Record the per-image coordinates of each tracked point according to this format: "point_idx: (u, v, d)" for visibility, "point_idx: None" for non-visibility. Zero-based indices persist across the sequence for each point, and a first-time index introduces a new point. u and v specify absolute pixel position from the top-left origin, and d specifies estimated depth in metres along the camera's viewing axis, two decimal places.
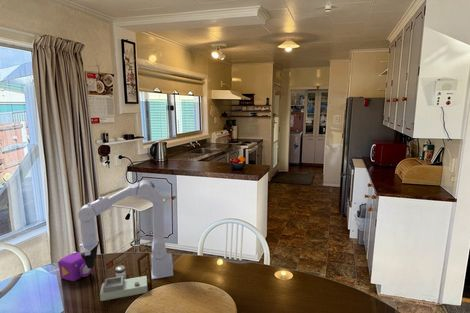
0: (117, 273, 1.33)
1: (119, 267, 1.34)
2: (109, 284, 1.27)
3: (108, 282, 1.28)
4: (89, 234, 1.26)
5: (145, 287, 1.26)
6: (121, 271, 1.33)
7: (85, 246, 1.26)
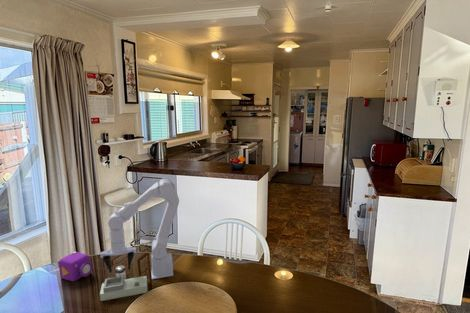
0: (117, 273, 1.33)
1: (119, 267, 1.34)
2: (109, 284, 1.27)
3: (108, 282, 1.28)
4: (118, 242, 1.30)
5: (145, 287, 1.26)
6: (121, 271, 1.33)
7: None
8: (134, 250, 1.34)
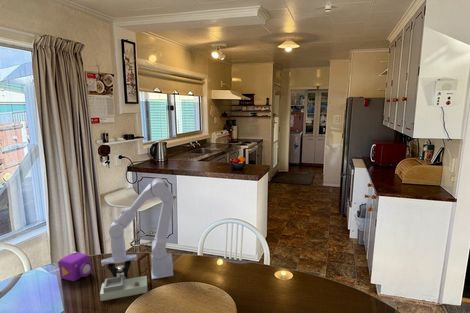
0: (117, 273, 1.33)
1: (119, 267, 1.34)
2: (109, 284, 1.27)
3: (108, 282, 1.28)
4: (119, 250, 1.30)
5: (145, 287, 1.26)
6: (121, 271, 1.33)
7: None
8: (135, 258, 1.35)
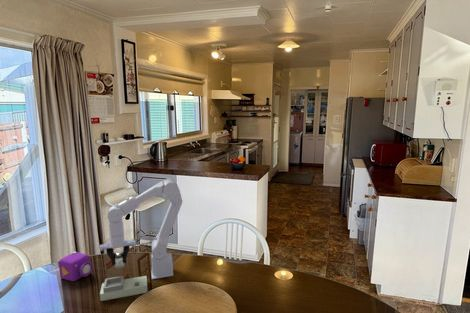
0: (115, 258, 1.31)
1: (117, 253, 1.33)
2: (109, 284, 1.27)
3: (108, 282, 1.28)
4: (118, 234, 1.29)
5: (145, 287, 1.26)
6: (120, 256, 1.32)
7: None
8: (133, 243, 1.33)
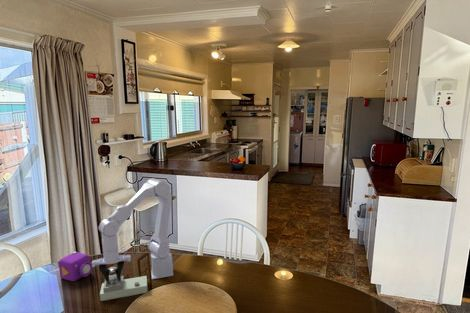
0: (109, 275, 1.23)
1: (111, 269, 1.25)
2: None
3: None
4: (114, 248, 1.21)
5: (145, 287, 1.26)
6: (113, 273, 1.23)
7: None
8: (128, 258, 1.25)
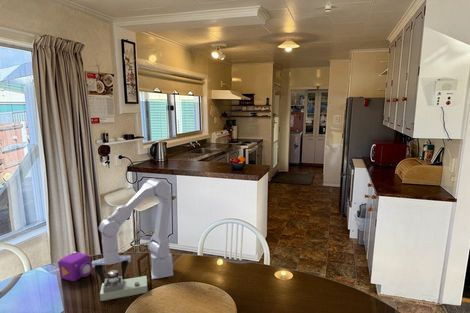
0: (109, 278, 1.23)
1: (112, 272, 1.25)
2: None
3: (108, 282, 1.28)
4: (114, 249, 1.21)
5: (145, 287, 1.26)
6: (114, 276, 1.23)
7: None
8: (128, 258, 1.25)
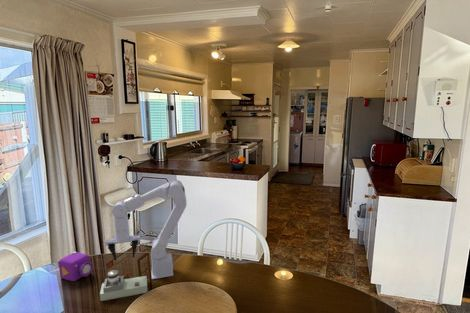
0: (109, 278, 1.23)
1: (111, 272, 1.25)
2: None
3: None
4: (122, 230, 1.31)
5: (145, 287, 1.26)
6: (114, 276, 1.23)
7: None
8: (138, 238, 1.36)
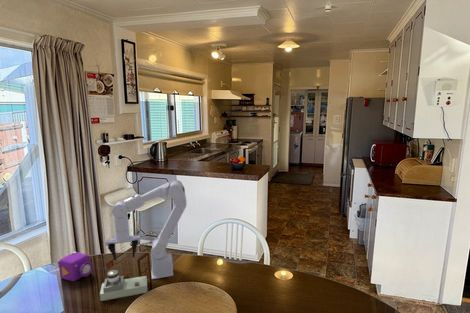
0: (109, 278, 1.23)
1: (111, 272, 1.25)
2: None
3: None
4: (122, 230, 1.31)
5: (145, 287, 1.26)
6: (114, 276, 1.23)
7: None
8: (138, 238, 1.36)
